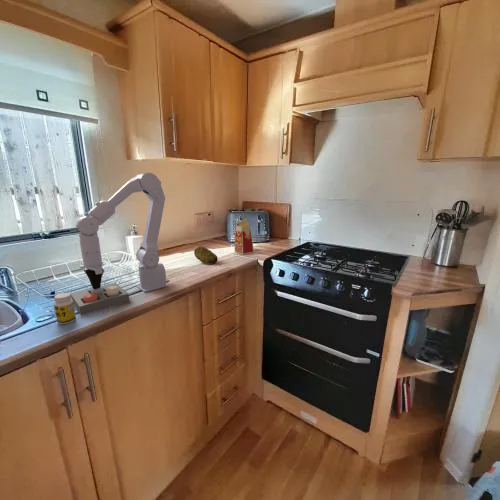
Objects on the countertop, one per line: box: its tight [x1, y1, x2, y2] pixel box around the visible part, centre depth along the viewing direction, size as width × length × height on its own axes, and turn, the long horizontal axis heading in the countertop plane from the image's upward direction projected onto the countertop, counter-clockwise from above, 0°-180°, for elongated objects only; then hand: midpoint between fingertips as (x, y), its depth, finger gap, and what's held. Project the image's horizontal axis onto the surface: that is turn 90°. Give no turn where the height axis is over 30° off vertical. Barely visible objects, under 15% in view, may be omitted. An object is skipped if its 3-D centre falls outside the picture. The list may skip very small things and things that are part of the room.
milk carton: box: [234, 218, 254, 255], centre depth 159 cm, size 9×9×20 cm
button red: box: [83, 294, 98, 303], centre depth 92 cm, size 4×4×3 cm
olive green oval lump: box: [193, 246, 219, 265], centre depth 141 cm, size 8×13×8 cm, turn 43°
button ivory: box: [106, 286, 119, 297], centre depth 96 cm, size 4×4×3 cm
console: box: [69, 282, 130, 316], centre depth 96 cm, size 15×14×3 cm
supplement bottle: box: [53, 292, 77, 325], centre depth 82 cm, size 5×5×8 cm
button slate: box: [89, 285, 104, 294], centre depth 98 cm, size 4×4×3 cm
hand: (96, 288), depth 98 cm, fingers closed, pressing on button slate
